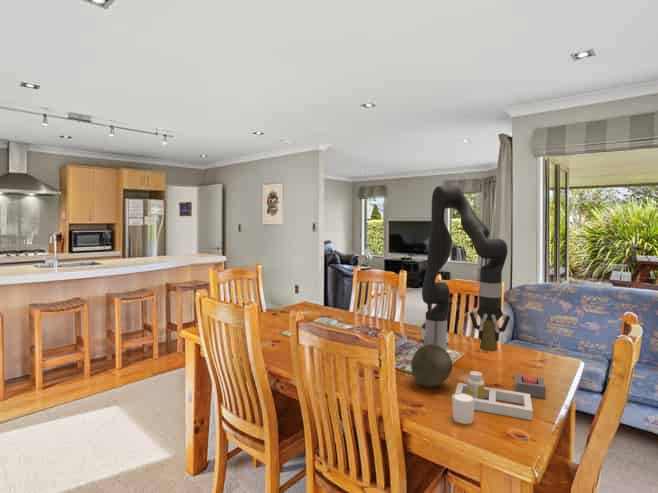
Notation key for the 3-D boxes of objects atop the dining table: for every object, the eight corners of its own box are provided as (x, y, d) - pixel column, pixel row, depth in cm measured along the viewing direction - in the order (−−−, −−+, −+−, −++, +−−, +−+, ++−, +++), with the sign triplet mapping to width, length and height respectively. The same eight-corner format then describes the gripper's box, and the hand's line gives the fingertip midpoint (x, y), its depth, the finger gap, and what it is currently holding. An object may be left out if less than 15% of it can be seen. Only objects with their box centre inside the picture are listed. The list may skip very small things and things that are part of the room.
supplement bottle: (483, 399, 136) (484, 371, 135) (484, 406, 130) (485, 377, 130) (466, 397, 137) (467, 369, 137) (466, 403, 132) (467, 375, 132)
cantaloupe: (421, 395, 138) (421, 353, 137) (405, 379, 152) (406, 341, 151) (458, 392, 141) (459, 350, 140) (439, 376, 155) (440, 338, 154)
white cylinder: (447, 414, 125) (448, 392, 125) (468, 413, 126) (469, 391, 125) (456, 425, 118) (457, 403, 118) (478, 424, 119) (479, 401, 119)
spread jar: (418, 340, 199) (419, 318, 198) (435, 337, 204) (436, 315, 204) (435, 347, 189) (436, 323, 188) (453, 344, 194) (453, 320, 193)
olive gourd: (499, 352, 141) (500, 321, 140) (481, 350, 142) (482, 320, 141) (495, 346, 146) (496, 317, 146) (478, 345, 148) (479, 316, 147)
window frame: (453, 406, 131) (454, 397, 130) (457, 390, 142) (457, 382, 142) (532, 420, 122) (532, 410, 121) (529, 402, 133) (530, 394, 133)
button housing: (515, 394, 139) (516, 383, 139) (515, 384, 148) (515, 373, 147) (545, 398, 136) (545, 387, 136) (542, 388, 144) (543, 377, 144)
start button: (523, 387, 140) (523, 379, 140) (522, 382, 144) (522, 374, 144) (537, 389, 139) (537, 381, 138) (536, 384, 143) (536, 376, 142)
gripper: (468, 294, 142) (467, 341, 143) (512, 298, 136) (510, 347, 138) (470, 291, 149) (468, 336, 150) (511, 294, 143) (510, 340, 144)
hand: (488, 341), depth 144 cm, fingers closed on olive gourd, 4 cm apart
